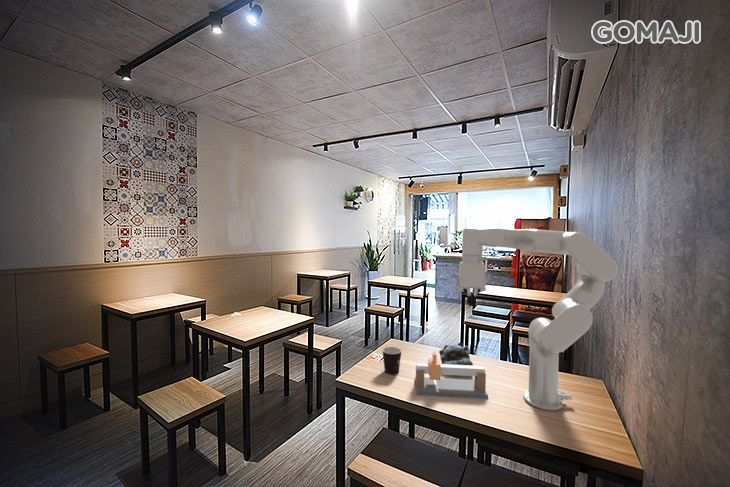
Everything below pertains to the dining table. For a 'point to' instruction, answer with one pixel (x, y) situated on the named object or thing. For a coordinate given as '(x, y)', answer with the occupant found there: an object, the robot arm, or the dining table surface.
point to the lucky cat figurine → (455, 355)
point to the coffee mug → (391, 360)
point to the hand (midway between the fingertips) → (471, 305)
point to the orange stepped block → (434, 367)
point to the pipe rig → (452, 381)
